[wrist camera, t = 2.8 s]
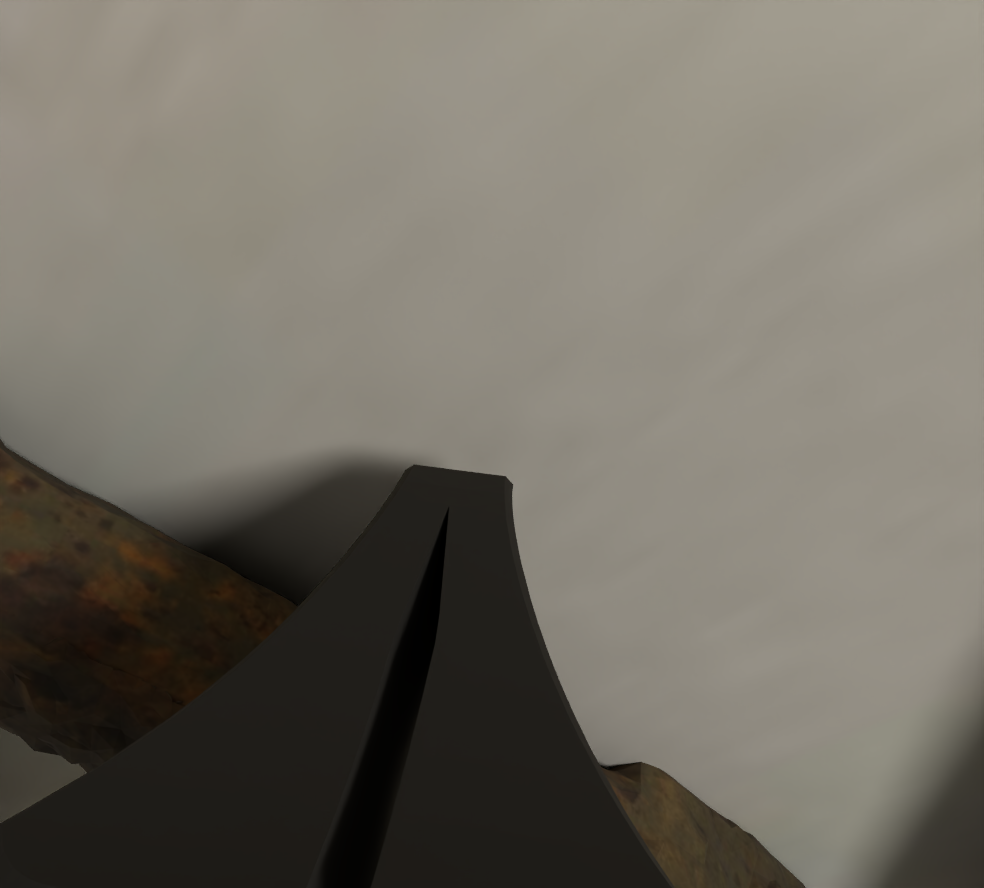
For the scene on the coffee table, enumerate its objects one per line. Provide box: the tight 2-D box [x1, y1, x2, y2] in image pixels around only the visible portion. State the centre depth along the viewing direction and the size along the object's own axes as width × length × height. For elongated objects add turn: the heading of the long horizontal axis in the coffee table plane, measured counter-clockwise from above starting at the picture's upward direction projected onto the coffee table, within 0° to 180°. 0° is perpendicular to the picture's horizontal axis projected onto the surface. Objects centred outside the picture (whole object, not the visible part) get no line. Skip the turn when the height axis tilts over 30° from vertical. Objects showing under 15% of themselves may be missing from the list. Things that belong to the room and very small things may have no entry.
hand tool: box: [0, 439, 805, 888], centre depth 16 cm, size 19×4×5 cm, turn 53°
